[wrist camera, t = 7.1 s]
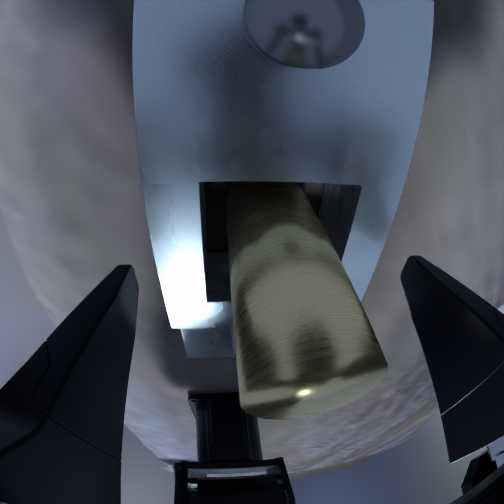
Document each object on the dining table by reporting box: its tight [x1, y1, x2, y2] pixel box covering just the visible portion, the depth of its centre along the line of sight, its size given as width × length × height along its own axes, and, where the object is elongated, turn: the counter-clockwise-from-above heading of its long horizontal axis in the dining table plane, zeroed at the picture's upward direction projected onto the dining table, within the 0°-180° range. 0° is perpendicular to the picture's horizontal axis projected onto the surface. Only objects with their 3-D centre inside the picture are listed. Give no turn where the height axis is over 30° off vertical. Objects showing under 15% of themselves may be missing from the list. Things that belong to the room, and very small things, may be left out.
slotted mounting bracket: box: [132, 0, 434, 358], centre depth 10 cm, size 18×8×4 cm, turn 177°
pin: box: [226, 181, 388, 420], centre depth 8 cm, size 3×3×8 cm
